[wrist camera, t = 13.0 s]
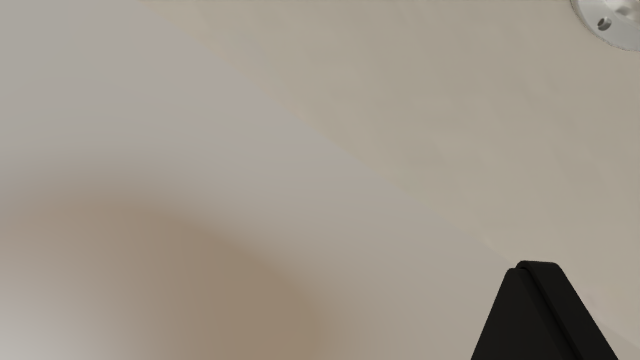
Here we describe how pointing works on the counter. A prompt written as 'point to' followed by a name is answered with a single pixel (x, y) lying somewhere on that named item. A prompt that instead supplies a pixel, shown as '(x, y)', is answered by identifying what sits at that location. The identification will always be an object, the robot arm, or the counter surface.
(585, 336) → the robot arm
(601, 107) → the counter surface
